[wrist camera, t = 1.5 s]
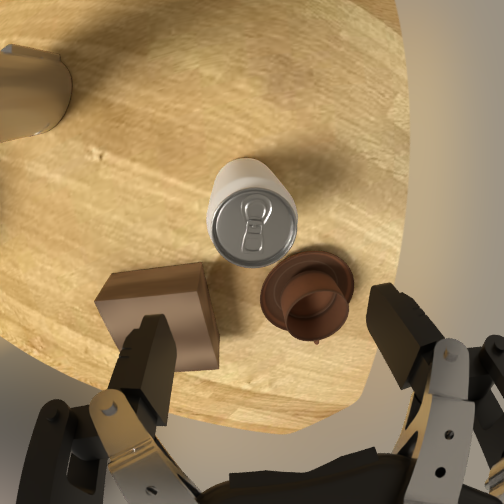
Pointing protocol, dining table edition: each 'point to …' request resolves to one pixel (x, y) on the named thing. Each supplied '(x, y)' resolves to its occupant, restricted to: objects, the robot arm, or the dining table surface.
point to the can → (251, 214)
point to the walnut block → (165, 310)
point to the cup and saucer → (308, 295)
